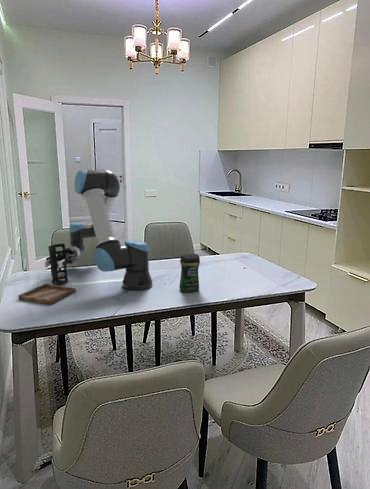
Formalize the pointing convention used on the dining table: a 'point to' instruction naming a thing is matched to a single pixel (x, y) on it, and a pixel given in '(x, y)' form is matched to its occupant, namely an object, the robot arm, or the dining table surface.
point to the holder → (54, 264)
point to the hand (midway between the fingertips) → (52, 265)
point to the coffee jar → (189, 272)
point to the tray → (47, 294)
